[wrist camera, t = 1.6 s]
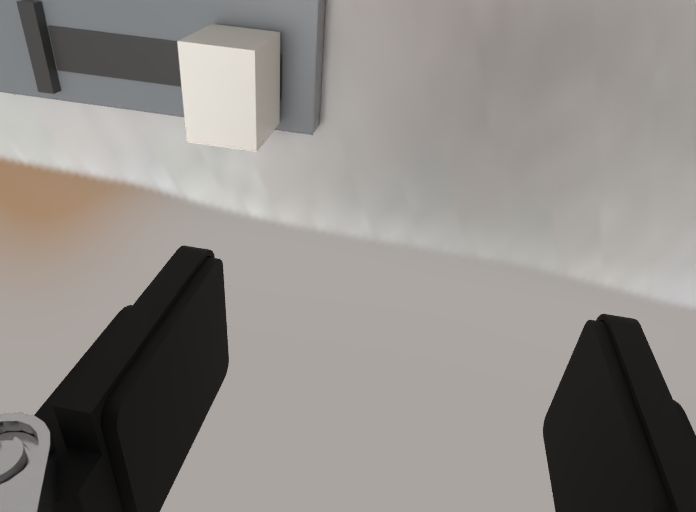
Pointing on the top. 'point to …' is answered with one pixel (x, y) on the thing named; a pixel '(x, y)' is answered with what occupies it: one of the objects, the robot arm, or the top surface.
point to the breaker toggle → (230, 86)
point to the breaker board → (150, 51)
